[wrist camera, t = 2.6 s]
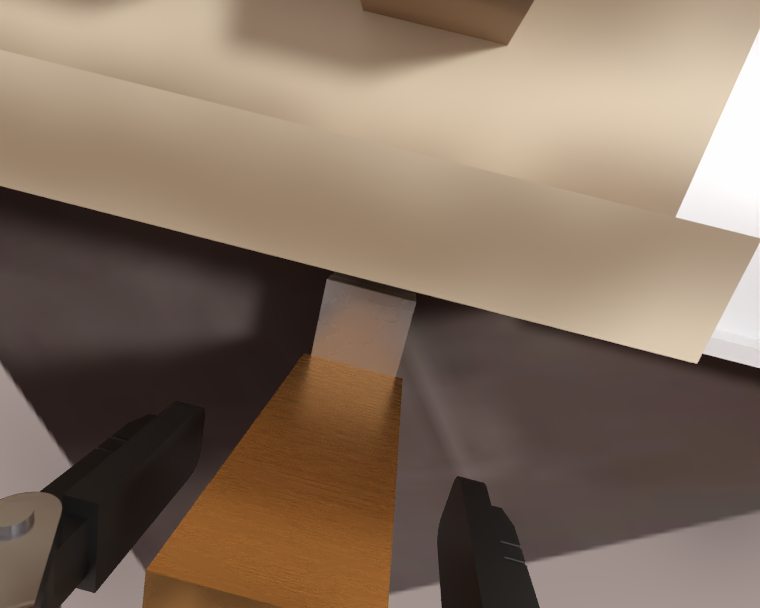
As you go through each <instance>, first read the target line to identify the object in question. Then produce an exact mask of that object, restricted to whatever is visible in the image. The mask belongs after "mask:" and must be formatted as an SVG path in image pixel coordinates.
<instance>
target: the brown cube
mask: <svg viewBox="0 0 760 608" xmlns="http://www.w3.org/2000/svg"><path fill="white" fill-rule="evenodd" d="M360 1H361V5H362V9H363V11H367V12H371V13H375V14H380V15H384V16H388V17H392V18H396V19H400V20H404V21H409V22H413V23H417V24H421V25H425V26H429V27H433V28H438V29H442V30H446V31H450V32H454V33H458V34H462V35H467V36H471V37H475V38H479V39H483V40H487V41H491V42H496V43H500V44H504V45H508V44H509V42H510V40H511V39H512V37H513V35H514V34H515V32H516V30H517V29H518V27H519V25H520V24H521V22H522V20H523V19H524V17H525V15H526V14H527V12H528V10H529V9H530V7H531V5H532V4H533V2H534V0H360Z"/></svg>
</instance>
